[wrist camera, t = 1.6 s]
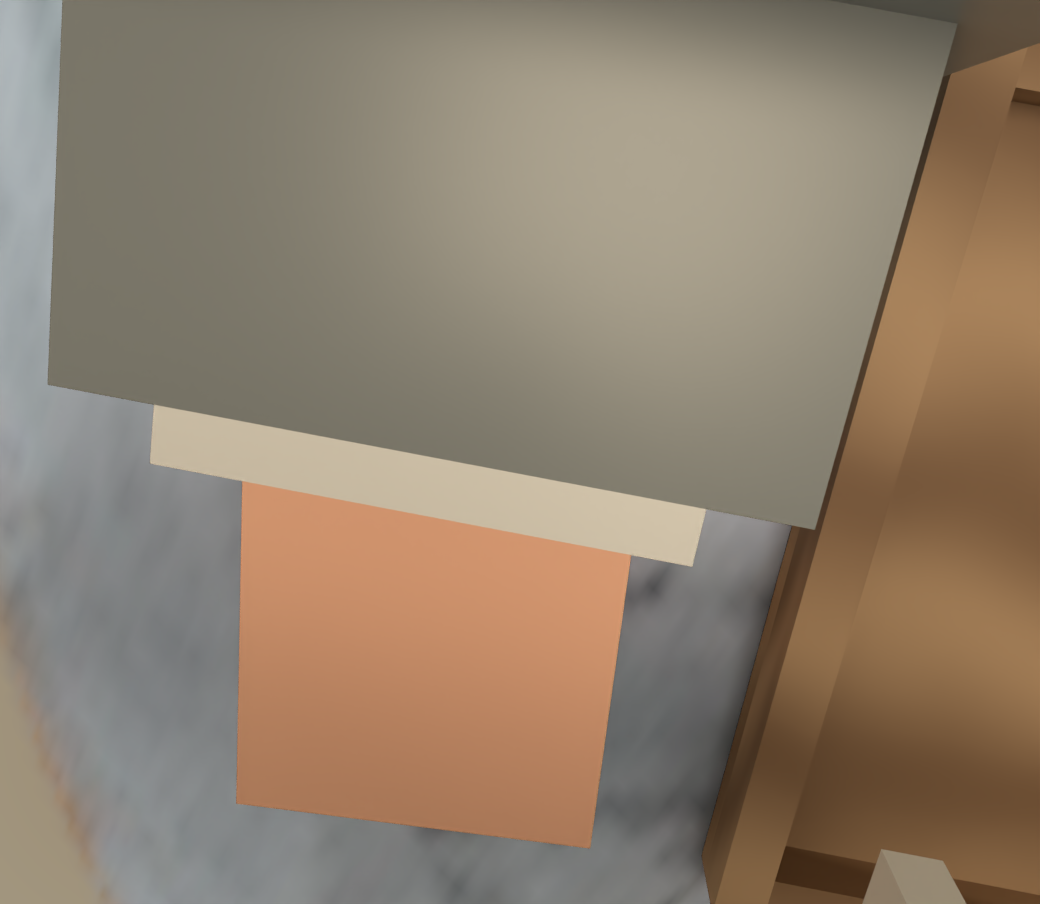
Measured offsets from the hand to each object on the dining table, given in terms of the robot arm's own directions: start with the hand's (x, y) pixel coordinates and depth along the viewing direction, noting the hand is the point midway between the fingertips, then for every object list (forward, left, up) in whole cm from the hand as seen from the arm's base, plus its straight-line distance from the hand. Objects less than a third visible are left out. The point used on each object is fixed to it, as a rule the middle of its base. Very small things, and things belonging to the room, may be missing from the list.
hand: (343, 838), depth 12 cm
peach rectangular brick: (+4, 0, -11) cm, 12 cm away
